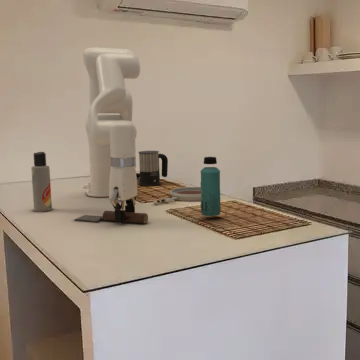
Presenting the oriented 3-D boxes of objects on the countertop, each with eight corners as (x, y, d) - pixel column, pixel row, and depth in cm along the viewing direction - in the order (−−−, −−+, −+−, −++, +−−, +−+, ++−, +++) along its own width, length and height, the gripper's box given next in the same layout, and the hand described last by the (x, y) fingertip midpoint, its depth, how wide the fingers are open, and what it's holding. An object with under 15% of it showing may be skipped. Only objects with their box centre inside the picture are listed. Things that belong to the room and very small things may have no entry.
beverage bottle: (223, 216, 161) (223, 156, 158) (216, 221, 155) (216, 158, 151) (205, 215, 163) (205, 155, 160) (197, 219, 157) (196, 157, 154)
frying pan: (138, 195, 183) (190, 184, 204) (138, 203, 183) (191, 191, 205) (169, 201, 172) (222, 189, 194) (170, 210, 173) (222, 196, 195)
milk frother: (150, 186, 215) (149, 153, 212) (123, 183, 223) (122, 150, 221) (171, 182, 227) (170, 150, 224) (145, 179, 235) (144, 148, 233)
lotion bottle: (55, 209, 171) (52, 151, 167) (42, 212, 166) (39, 153, 162) (43, 207, 173) (39, 150, 170) (30, 210, 168) (26, 152, 165)
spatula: (74, 220, 155) (74, 210, 154) (85, 216, 161) (85, 206, 160) (141, 226, 149) (141, 215, 148) (150, 221, 155) (149, 211, 154)
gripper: (125, 159, 160) (127, 213, 163) (97, 165, 143) (99, 226, 146) (147, 160, 158) (148, 215, 161) (120, 167, 141) (122, 228, 144)
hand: (125, 219), depth 154 cm, fingers open, 5 cm apart
